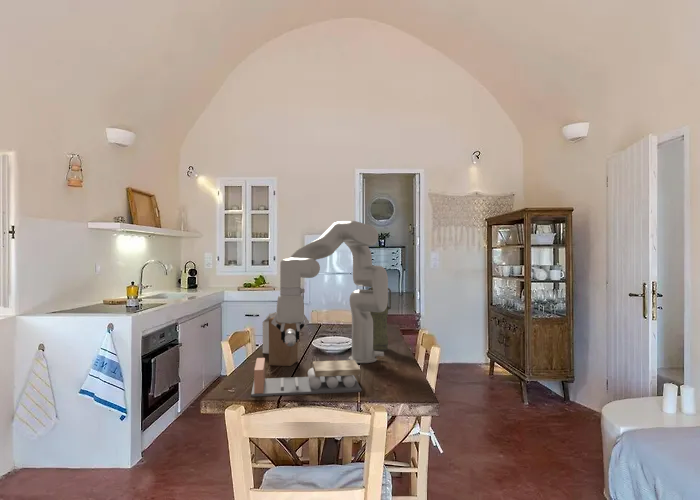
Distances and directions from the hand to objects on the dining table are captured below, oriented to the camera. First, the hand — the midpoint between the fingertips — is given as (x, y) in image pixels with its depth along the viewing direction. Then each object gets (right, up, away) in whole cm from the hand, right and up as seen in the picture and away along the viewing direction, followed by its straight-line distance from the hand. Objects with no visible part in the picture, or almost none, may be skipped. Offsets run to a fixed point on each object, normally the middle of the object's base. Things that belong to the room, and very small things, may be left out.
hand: (290, 341), depth 177 cm
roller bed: (+6, -16, -3) cm, 17 cm away
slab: (+17, -11, -1) cm, 20 cm away
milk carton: (-15, -16, +53) cm, 57 cm away
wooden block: (-7, -16, +32) cm, 36 cm away
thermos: (+37, -16, +60) cm, 72 cm away
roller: (0, 0, 0) cm, 0 cm away
